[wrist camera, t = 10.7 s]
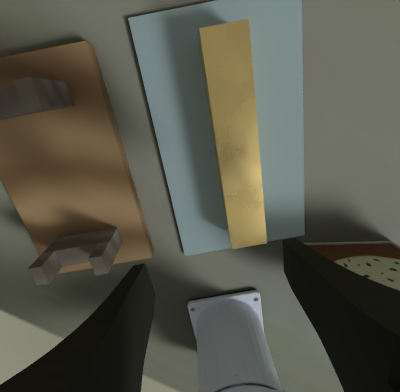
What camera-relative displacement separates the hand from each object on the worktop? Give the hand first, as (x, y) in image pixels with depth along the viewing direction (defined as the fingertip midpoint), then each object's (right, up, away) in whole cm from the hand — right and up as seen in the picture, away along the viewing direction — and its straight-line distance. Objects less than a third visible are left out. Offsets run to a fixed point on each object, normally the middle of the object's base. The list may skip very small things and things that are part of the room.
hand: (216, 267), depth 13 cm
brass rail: (+2, +7, +6) cm, 10 cm away
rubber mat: (+2, +8, +8) cm, 12 cm away
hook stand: (-12, +6, +8) cm, 16 cm away
